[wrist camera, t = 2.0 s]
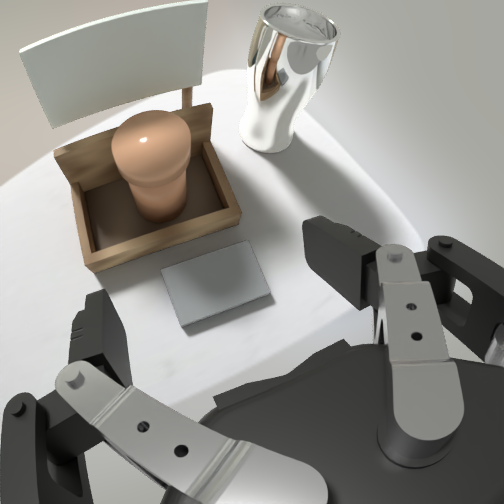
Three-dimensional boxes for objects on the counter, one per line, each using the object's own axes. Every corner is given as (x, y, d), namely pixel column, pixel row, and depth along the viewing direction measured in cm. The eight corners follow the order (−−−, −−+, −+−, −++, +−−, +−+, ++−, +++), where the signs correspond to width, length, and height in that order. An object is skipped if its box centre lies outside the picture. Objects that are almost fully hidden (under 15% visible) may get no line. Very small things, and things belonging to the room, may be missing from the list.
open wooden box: (93, 273, 26) (37, 220, 15) (73, 158, 29) (37, 81, 18) (238, 224, 30) (261, 148, 19) (194, 120, 33) (198, 35, 22)
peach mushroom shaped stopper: (140, 235, 27) (119, 183, 19) (126, 184, 29) (106, 123, 20) (199, 216, 29) (201, 158, 20) (181, 167, 30) (178, 102, 22)
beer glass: (295, 116, 35) (338, 14, 21) (295, 162, 33) (348, 53, 19) (237, 106, 35) (260, -4, 21) (230, 151, 32) (254, 31, 18)
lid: (52, 129, 22) (19, 53, 14) (52, 124, 22) (20, 49, 14) (201, 84, 26) (208, 1, 18) (199, 80, 26) (205, -1, 18)
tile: (181, 327, 26) (180, 325, 25) (161, 272, 27) (160, 269, 26) (268, 294, 28) (270, 292, 27) (246, 243, 29) (247, 239, 28)
